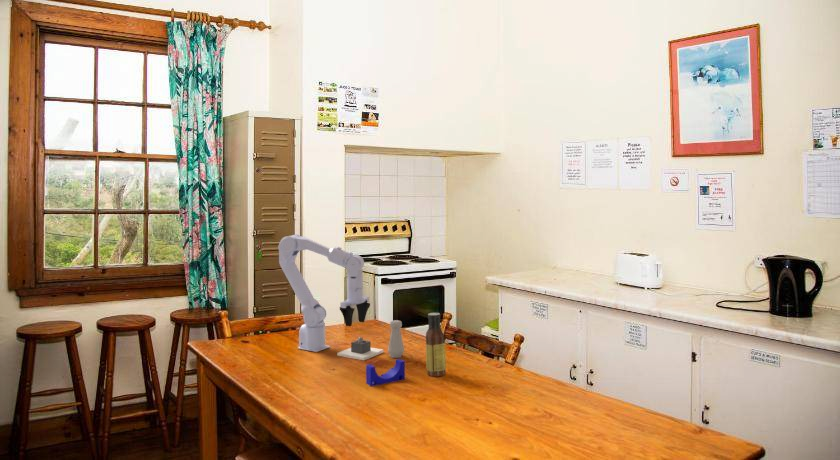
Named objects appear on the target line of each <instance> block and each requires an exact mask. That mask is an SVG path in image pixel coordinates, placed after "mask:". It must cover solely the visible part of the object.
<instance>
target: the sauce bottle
mask: <svg viewBox="0 0 840 460" xmlns="http://www.w3.org/2000/svg"><path fill="white" fill-rule="evenodd" d="M427 319H428V329H427V330H426V333H425V356H426V357H425V358H426V359H425V360H426V363H425V364H426V372H427V375H428V376H431V377H441V376H444V375H446V368H447V367H446V360H447V359H446V341H445V335H444V333H443V329H442V328H441V313H440V312H430V313H427Z"/></svg>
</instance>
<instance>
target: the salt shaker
mask: <svg viewBox="0 0 840 460" xmlns="http://www.w3.org/2000/svg"><path fill="white" fill-rule="evenodd" d="M402 326H403V323H402V321H401V320H398V319H396V320H395V319H394V320H391V321H390V323H389V327H390V328H391V330H390V336H389V342H388V348H387V352H388V354H389V357H390V358H391V359H401V358H402V357H403V354H404V353H405V347H404V340H403V336H402V329H401V328H403V327H402Z"/></svg>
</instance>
